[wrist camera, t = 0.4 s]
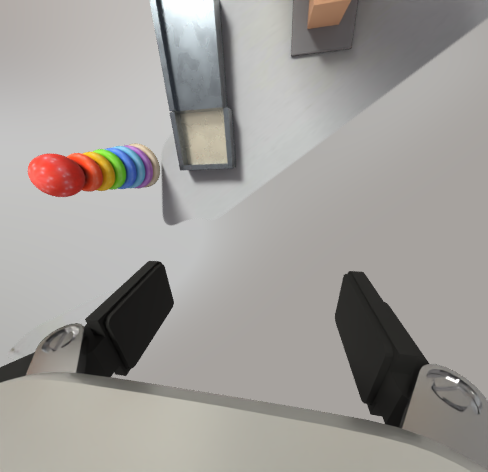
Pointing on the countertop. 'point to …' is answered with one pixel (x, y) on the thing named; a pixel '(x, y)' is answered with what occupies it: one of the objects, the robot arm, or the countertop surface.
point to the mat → (321, 31)
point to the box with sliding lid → (195, 81)
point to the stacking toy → (95, 170)
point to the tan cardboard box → (326, 12)
